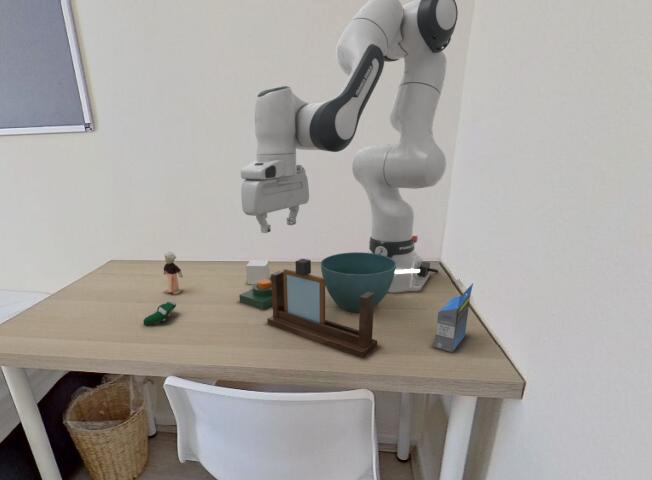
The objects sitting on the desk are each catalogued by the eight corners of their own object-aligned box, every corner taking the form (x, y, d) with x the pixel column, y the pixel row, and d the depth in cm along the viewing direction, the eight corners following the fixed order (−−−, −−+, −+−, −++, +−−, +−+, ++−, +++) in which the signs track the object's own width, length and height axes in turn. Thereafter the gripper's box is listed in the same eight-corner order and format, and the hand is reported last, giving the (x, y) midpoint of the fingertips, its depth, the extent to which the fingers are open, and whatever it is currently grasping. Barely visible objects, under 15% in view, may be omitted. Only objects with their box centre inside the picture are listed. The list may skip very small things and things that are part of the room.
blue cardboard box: (447, 331, 88) (453, 279, 83) (465, 336, 85) (473, 282, 81) (433, 347, 81) (439, 292, 77) (453, 353, 79) (460, 296, 75)
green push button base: (266, 290, 116) (266, 277, 115) (290, 297, 111) (289, 283, 109) (239, 302, 109) (238, 288, 107) (263, 310, 103) (262, 295, 102)
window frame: (283, 315, 99) (281, 268, 95) (377, 346, 83) (380, 291, 78) (267, 324, 95) (264, 275, 91) (362, 358, 79) (365, 301, 74)
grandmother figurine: (160, 293, 118) (153, 252, 113) (168, 289, 121) (162, 249, 117) (181, 296, 115) (176, 254, 111) (189, 291, 118) (183, 250, 114)
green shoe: (152, 333, 98) (165, 318, 95) (140, 322, 97) (153, 307, 95) (168, 317, 106) (181, 303, 104) (157, 307, 106) (170, 293, 103)
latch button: (264, 284, 111) (263, 278, 110) (273, 286, 109) (273, 281, 108) (255, 288, 108) (254, 282, 108) (264, 290, 106) (264, 284, 106)
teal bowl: (371, 329, 90) (374, 279, 86) (307, 310, 101) (306, 265, 97) (404, 303, 103) (408, 258, 98) (344, 289, 114) (344, 248, 110)
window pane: (288, 314, 95) (286, 255, 90) (327, 327, 88) (327, 263, 83) (282, 318, 94) (280, 257, 88) (321, 331, 87) (321, 266, 81)
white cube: (251, 277, 128) (250, 260, 125) (270, 278, 126) (269, 260, 124) (247, 284, 122) (246, 265, 120) (266, 284, 121) (265, 265, 119)
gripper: (294, 163, 97) (295, 219, 102) (234, 171, 83) (239, 235, 88) (315, 164, 93) (315, 221, 98) (256, 171, 79) (260, 239, 84)
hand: (279, 228), depth 93 cm, fingers open, 8 cm apart
